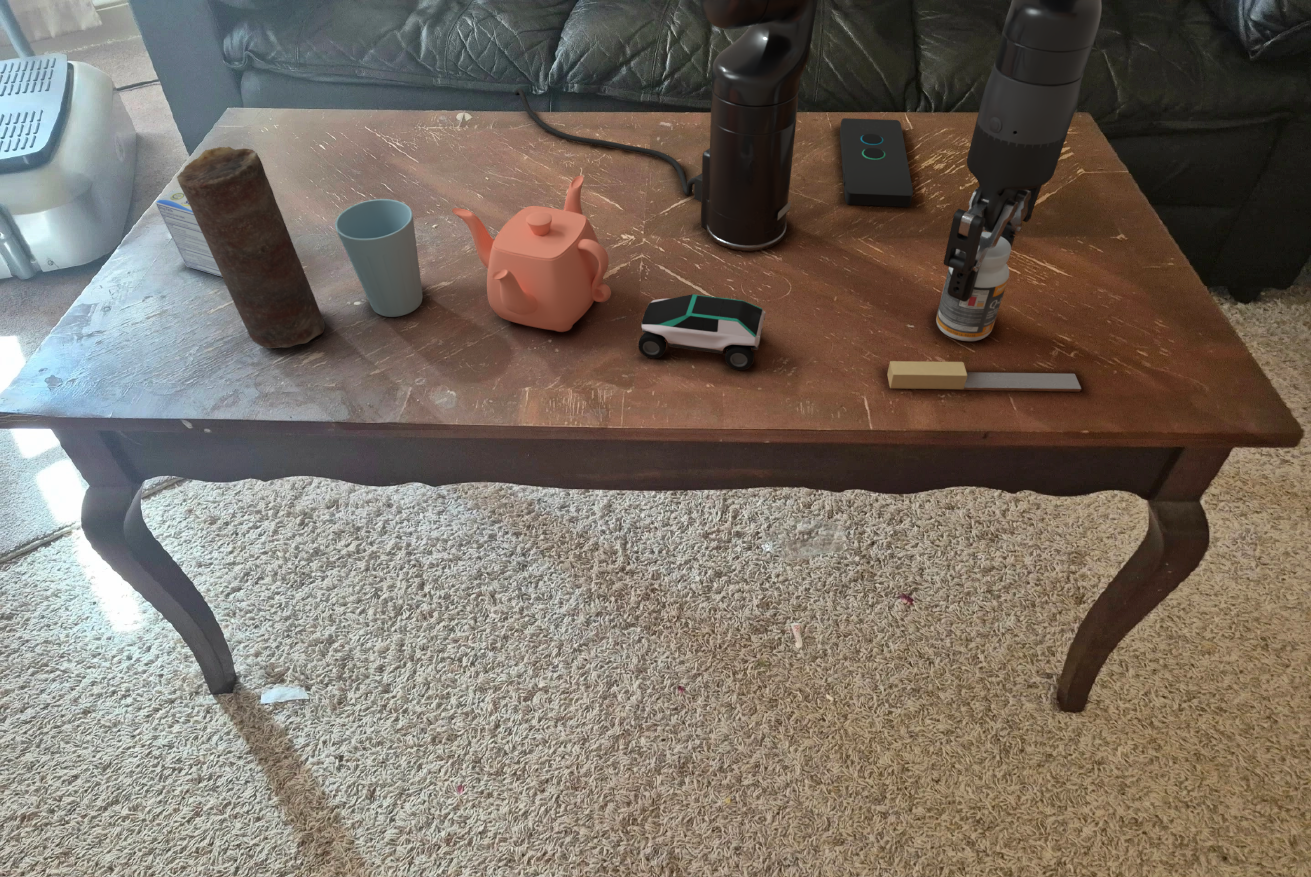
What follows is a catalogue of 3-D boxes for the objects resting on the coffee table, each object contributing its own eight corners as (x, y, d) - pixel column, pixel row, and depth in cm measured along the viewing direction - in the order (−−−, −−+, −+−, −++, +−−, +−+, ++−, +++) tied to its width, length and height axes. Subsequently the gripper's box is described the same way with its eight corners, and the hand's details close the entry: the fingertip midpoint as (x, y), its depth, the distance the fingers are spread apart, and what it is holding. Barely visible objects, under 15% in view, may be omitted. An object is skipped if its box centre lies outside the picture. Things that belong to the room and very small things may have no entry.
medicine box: (264, 263, 102) (237, 196, 95) (237, 284, 99) (207, 216, 93) (213, 247, 104) (183, 181, 98) (185, 268, 101) (152, 201, 95)
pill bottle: (993, 346, 89) (1020, 264, 82) (934, 340, 90) (956, 258, 83) (989, 312, 93) (1015, 231, 86) (934, 306, 94) (955, 225, 86)
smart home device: (901, 118, 120) (915, 194, 106) (899, 130, 121) (912, 207, 107) (839, 116, 121) (846, 192, 107) (838, 128, 122) (844, 204, 108)
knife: (890, 389, 85) (893, 375, 83) (886, 374, 86) (890, 360, 85) (1080, 391, 84) (1086, 377, 83) (1073, 376, 85) (1079, 362, 84)
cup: (403, 331, 92) (378, 246, 85) (346, 312, 95) (318, 228, 87) (446, 292, 97) (427, 208, 90) (391, 275, 100) (368, 192, 92)
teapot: (509, 364, 88) (492, 273, 80) (468, 289, 97) (449, 201, 90) (640, 324, 92) (636, 233, 85) (588, 255, 102) (580, 168, 94)
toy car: (755, 373, 87) (759, 331, 83) (637, 357, 89) (635, 315, 85) (764, 336, 91) (767, 294, 87) (651, 321, 93) (650, 279, 89)
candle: (284, 367, 89) (208, 188, 74) (236, 343, 91) (153, 166, 77) (340, 326, 93) (278, 150, 79) (292, 304, 96) (224, 131, 82)
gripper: (1025, 166, 70) (975, 330, 82) (1100, 104, 77) (1044, 263, 89) (941, 137, 74) (905, 298, 85) (1020, 80, 81) (977, 236, 93)
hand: (976, 280), depth 87 cm, fingers open, 6 cm apart
